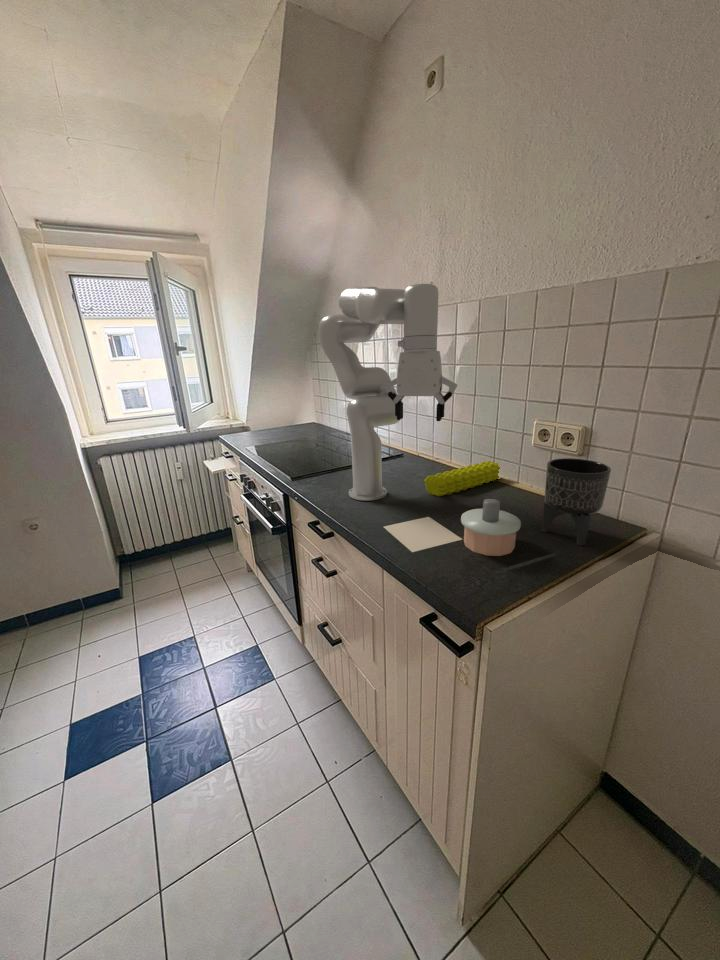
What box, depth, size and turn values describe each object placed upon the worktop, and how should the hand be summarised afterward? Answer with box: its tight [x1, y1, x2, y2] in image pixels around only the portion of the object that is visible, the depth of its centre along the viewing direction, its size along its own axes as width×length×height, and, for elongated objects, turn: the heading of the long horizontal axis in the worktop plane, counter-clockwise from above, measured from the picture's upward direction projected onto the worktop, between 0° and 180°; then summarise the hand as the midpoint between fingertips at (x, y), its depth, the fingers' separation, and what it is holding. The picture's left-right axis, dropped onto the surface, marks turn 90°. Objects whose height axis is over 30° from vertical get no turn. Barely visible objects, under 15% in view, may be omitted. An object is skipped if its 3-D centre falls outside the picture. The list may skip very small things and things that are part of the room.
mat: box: [383, 516, 464, 553], centre depth 95 cm, size 15×14×1 cm
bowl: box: [463, 527, 517, 557], centre depth 88 cm, size 11×11×6 cm
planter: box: [541, 457, 612, 546], centre depth 90 cm, size 13×13×18 cm
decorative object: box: [423, 460, 500, 497], centre depth 127 cm, size 7×33×7 cm, turn 123°
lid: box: [460, 498, 522, 536], centre depth 86 cm, size 13×13×5 cm
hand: (419, 419), depth 91 cm, fingers open, 9 cm apart
